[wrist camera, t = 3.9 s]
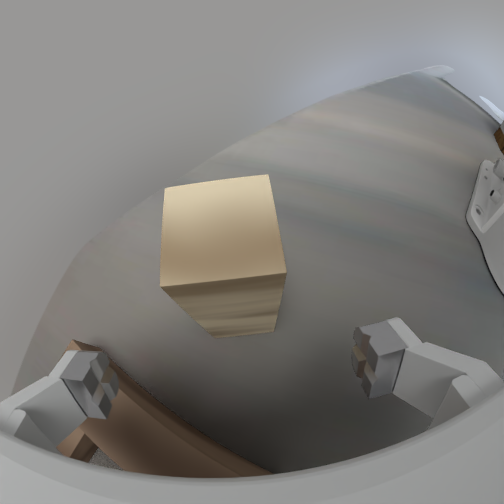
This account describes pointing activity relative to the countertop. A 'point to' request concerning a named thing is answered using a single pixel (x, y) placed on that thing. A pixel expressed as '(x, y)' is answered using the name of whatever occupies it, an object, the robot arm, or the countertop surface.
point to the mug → (500, 137)
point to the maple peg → (224, 254)
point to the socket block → (151, 437)
